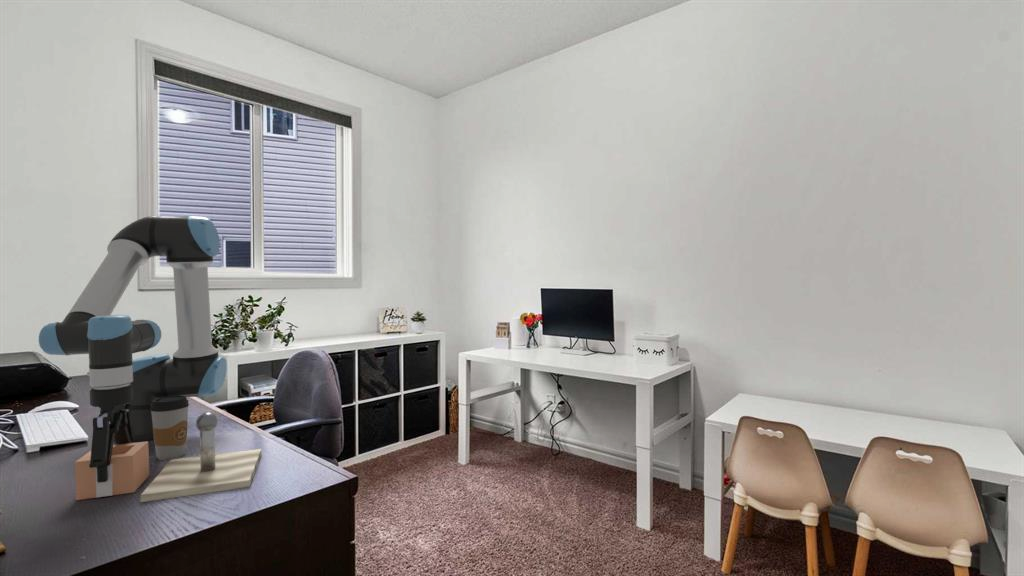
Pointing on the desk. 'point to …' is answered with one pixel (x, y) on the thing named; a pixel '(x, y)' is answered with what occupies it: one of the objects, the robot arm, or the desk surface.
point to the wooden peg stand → (204, 468)
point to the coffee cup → (170, 426)
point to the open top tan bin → (115, 470)
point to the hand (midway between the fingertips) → (114, 486)
